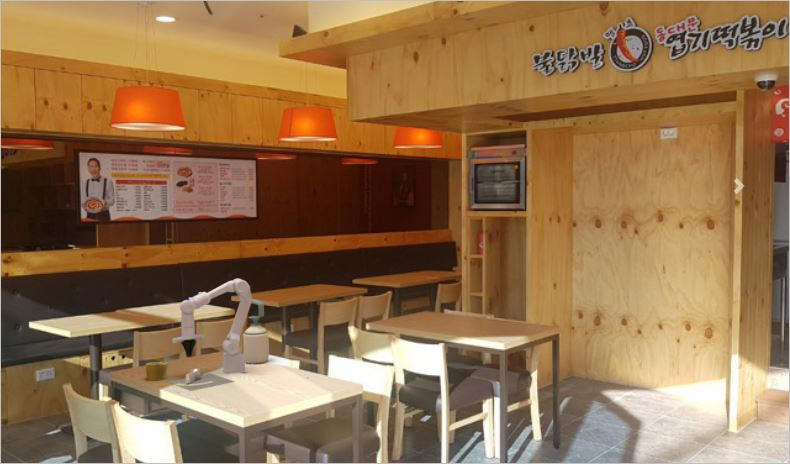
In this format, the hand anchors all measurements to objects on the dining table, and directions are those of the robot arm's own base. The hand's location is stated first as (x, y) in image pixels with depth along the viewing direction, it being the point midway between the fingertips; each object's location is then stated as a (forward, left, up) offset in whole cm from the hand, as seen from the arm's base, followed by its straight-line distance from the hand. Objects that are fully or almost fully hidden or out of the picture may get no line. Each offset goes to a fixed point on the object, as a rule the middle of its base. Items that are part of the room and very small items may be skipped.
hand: (188, 356), depth 319 cm
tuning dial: (+4, +11, -9) cm, 14 cm away
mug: (+11, -8, -10) cm, 17 cm away
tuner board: (+2, +14, -10) cm, 17 cm away
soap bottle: (-39, -6, -10) cm, 41 cm away
